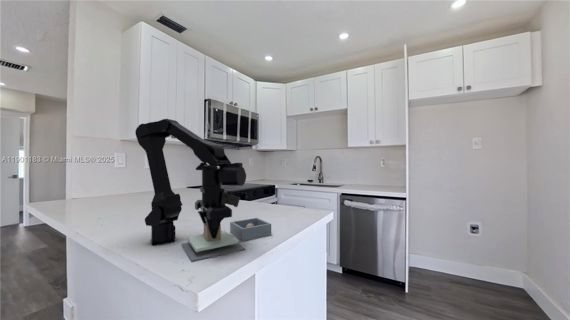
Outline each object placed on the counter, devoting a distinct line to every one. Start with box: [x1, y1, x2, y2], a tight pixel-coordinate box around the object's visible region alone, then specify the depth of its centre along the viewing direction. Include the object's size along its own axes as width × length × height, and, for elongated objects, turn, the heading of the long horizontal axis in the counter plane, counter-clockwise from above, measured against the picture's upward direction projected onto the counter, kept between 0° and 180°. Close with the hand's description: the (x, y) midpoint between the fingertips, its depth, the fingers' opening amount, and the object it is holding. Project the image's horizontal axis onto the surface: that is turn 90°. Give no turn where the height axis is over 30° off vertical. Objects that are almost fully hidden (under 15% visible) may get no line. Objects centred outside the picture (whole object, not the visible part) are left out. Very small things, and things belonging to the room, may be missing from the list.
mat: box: [180, 241, 246, 263], centre depth 70 cm, size 15×15×1 cm
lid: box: [186, 223, 239, 252], centre depth 70 cm, size 12×12×5 cm
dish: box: [229, 217, 272, 242], centre depth 82 cm, size 11×11×4 cm
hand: (212, 236), depth 70 cm, fingers closed on lid, 4 cm apart
